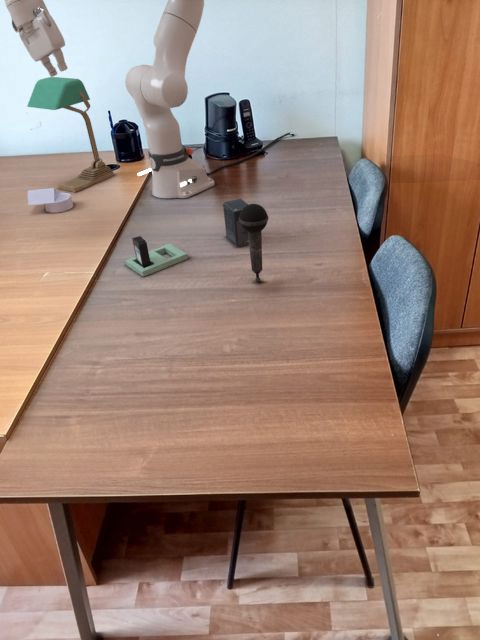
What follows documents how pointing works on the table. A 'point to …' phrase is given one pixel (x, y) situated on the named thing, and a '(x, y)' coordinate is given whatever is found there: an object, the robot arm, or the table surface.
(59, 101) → the banker's lamp
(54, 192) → the wedge on round base
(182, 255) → the holder
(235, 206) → the box
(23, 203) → the table surface
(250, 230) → the microphone
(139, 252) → the ink cartridge
